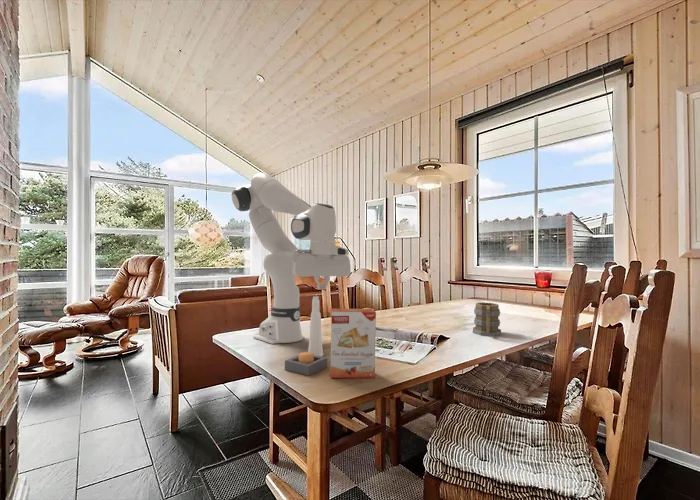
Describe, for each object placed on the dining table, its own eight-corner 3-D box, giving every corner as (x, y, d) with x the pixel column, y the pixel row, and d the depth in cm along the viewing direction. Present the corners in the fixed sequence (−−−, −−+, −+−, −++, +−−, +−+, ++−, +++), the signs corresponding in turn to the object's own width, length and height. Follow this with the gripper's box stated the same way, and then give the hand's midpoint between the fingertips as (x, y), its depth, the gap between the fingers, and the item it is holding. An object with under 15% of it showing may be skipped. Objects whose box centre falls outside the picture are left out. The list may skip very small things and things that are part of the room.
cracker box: (330, 379, 109) (330, 311, 109) (330, 372, 115) (330, 307, 115) (375, 378, 110) (376, 311, 110) (373, 371, 116) (373, 307, 116)
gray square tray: (284, 369, 117) (284, 360, 117) (303, 361, 126) (304, 353, 126) (308, 375, 112) (308, 366, 112) (327, 366, 120) (327, 357, 120)
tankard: (473, 329, 179) (473, 299, 179) (500, 331, 174) (501, 300, 174) (471, 338, 161) (471, 305, 160) (501, 341, 156) (502, 307, 156)
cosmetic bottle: (315, 352, 137) (316, 295, 137) (326, 355, 133) (327, 296, 133) (303, 355, 133) (304, 296, 133) (315, 358, 129) (315, 298, 129)
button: (295, 366, 118) (295, 354, 118) (305, 362, 122) (305, 351, 122) (307, 369, 115) (307, 357, 115) (316, 365, 120) (316, 353, 120)
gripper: (295, 249, 117) (294, 291, 118) (352, 250, 125) (351, 289, 125) (291, 249, 123) (290, 288, 123) (346, 250, 131) (345, 287, 131)
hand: (321, 289), depth 124 cm, fingers closed
